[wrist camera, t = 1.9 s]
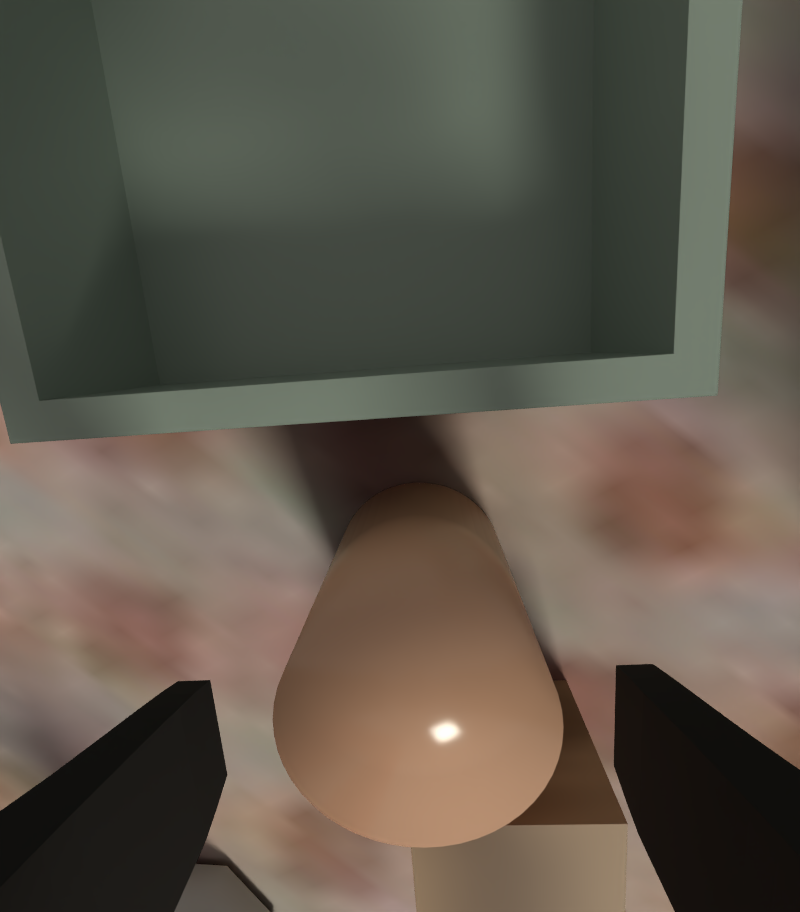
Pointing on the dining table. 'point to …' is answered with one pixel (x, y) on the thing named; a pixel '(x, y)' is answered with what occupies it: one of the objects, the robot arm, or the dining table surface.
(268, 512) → the dining table surface
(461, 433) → the dining table surface
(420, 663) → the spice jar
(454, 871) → the walnut cube
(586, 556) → the dining table surface
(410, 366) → the tote
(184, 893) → the flask
